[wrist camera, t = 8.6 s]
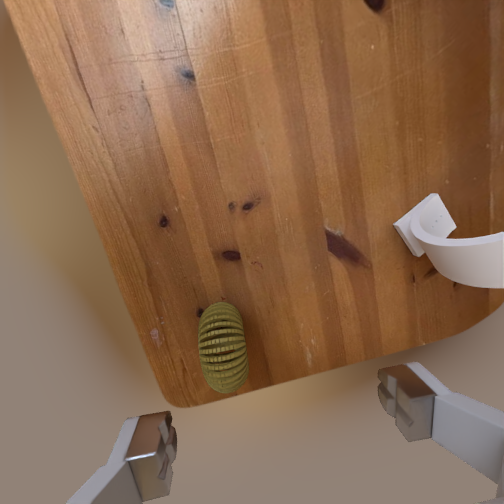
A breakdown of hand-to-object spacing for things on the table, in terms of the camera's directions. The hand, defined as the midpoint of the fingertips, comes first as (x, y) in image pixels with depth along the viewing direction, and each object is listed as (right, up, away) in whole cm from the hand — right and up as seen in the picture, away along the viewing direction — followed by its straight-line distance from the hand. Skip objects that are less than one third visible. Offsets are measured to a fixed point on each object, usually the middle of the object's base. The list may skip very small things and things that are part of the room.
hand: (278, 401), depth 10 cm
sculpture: (-4, -2, +18) cm, 19 cm away
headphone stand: (+17, +8, +18) cm, 26 cm away
